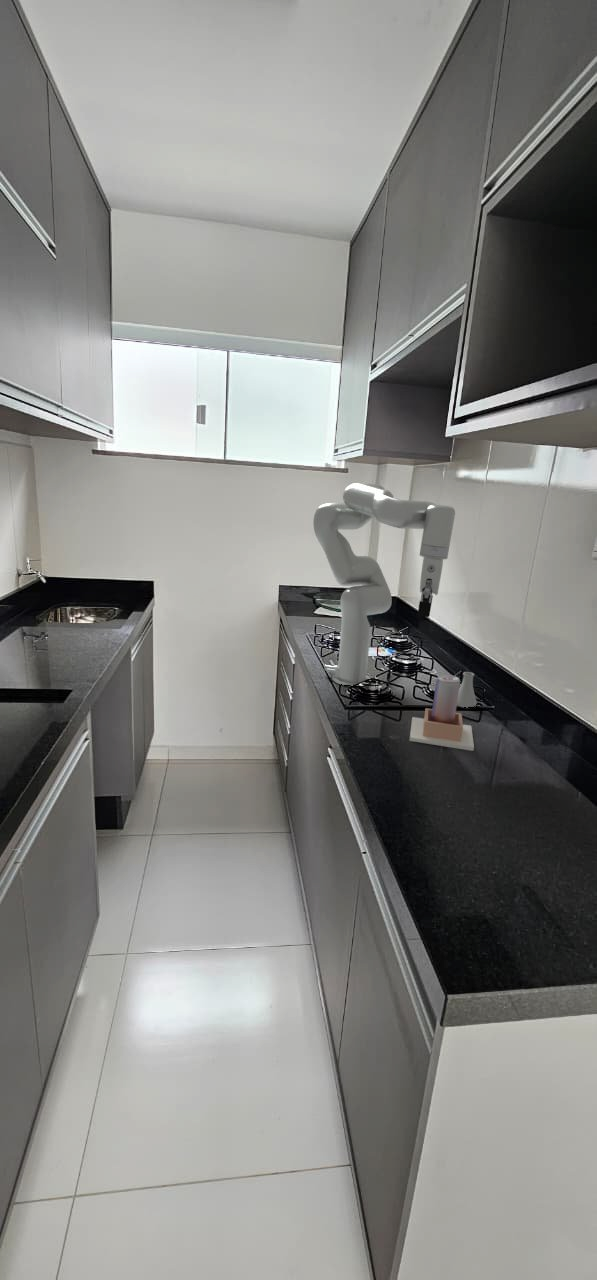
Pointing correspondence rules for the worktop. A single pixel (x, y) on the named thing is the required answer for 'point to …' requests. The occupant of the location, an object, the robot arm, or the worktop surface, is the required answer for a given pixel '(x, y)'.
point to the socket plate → (442, 732)
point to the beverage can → (445, 699)
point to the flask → (466, 692)
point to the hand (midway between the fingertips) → (424, 612)
